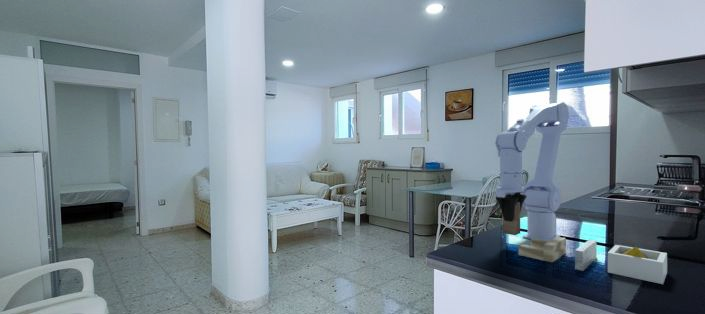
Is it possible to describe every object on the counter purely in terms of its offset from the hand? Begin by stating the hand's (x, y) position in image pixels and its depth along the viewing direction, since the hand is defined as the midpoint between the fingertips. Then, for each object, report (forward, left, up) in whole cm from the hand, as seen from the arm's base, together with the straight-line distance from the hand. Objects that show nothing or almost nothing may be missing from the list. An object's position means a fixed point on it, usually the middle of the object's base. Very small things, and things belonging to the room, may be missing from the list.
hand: (511, 219), depth 91 cm
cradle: (0, +8, -8) cm, 11 cm away
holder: (-1, +27, -8) cm, 28 cm away
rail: (0, +18, -8) cm, 20 cm away
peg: (0, 0, -4) cm, 4 cm away
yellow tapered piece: (-1, +27, -8) cm, 28 cm away
